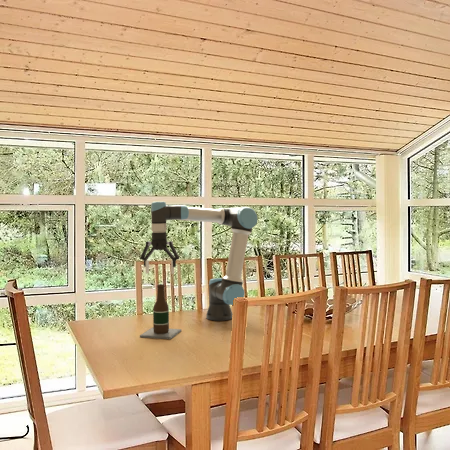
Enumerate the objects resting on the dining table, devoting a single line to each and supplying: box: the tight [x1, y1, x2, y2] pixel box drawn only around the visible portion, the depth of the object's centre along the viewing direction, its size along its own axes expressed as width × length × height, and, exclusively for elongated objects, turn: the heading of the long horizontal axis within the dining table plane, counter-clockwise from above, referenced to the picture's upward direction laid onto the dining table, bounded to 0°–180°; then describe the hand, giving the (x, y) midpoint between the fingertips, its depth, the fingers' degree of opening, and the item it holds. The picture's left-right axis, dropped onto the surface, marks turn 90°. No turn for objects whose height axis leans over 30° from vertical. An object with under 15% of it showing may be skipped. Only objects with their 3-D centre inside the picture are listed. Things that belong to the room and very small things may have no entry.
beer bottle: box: [152, 283, 170, 334], centre depth 239 cm, size 8×8×24 cm
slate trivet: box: [139, 327, 182, 340], centre depth 240 cm, size 16×16×1 cm
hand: (160, 273), depth 244 cm, fingers open, 13 cm apart
